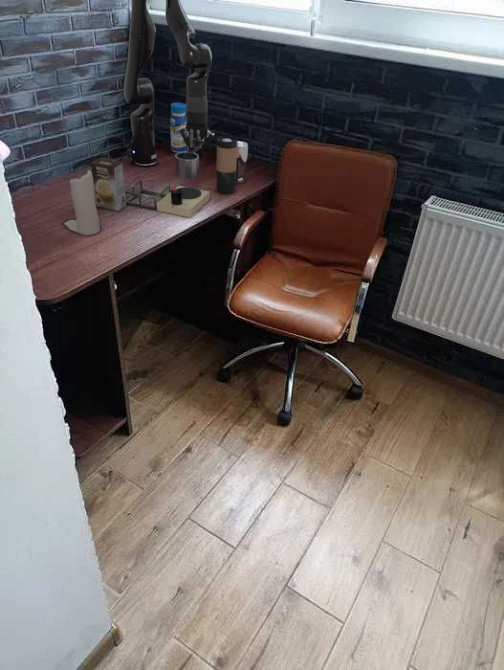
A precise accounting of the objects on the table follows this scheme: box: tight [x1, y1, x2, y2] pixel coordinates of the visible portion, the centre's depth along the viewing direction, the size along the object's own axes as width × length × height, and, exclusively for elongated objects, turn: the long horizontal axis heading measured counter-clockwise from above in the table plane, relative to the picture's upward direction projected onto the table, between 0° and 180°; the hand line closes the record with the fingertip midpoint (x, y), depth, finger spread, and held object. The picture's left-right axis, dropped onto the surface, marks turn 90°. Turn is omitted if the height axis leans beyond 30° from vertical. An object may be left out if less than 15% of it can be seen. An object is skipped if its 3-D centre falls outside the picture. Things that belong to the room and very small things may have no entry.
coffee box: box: [90, 156, 127, 212], centre depth 175 cm, size 9×6×16 cm
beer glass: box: [235, 140, 249, 184], centre depth 202 cm, size 7×7×15 cm
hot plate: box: [156, 185, 211, 218], centre depth 183 cm, size 19×13×3 cm
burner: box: [179, 186, 201, 199], centre depth 185 cm, size 10×10×1 cm
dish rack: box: [125, 179, 172, 211], centre depth 184 cm, size 13×13×5 cm
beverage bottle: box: [169, 102, 190, 154], centre depth 225 cm, size 8×8×20 cm
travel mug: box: [215, 135, 238, 195], centre depth 191 cm, size 8×8×20 cm
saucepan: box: [174, 145, 200, 179], centre depth 182 cm, size 8×16×7 cm, turn 161°
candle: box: [63, 169, 101, 236], centre depth 160 cm, size 7×14×20 cm, turn 60°
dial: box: [171, 188, 183, 205], centre depth 177 cm, size 4×4×5 cm
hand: (197, 157), depth 186 cm, fingers closed on saucepan
